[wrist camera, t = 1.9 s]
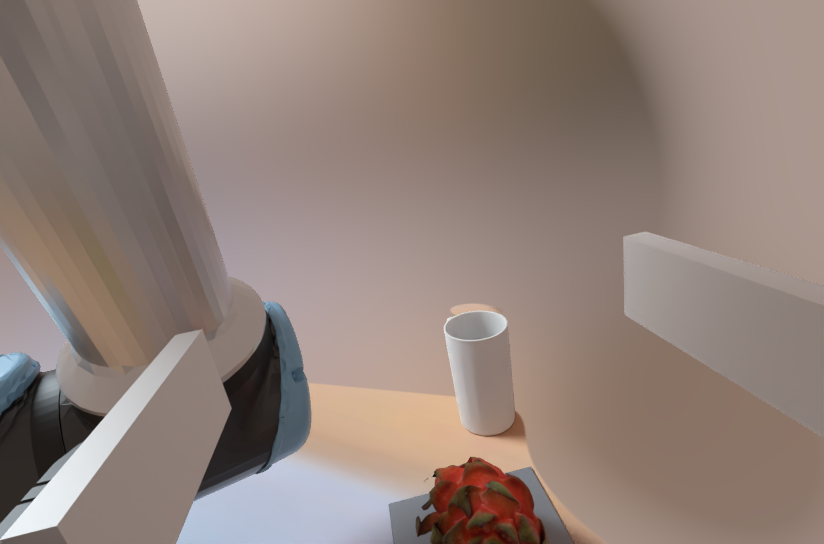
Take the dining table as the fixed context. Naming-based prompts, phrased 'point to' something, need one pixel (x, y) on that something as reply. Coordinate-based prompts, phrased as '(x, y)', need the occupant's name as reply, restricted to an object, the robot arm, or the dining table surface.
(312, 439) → the dining table surface
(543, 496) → the grey square tile
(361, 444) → the dining table surface
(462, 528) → the dragon fruit
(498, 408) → the mug
